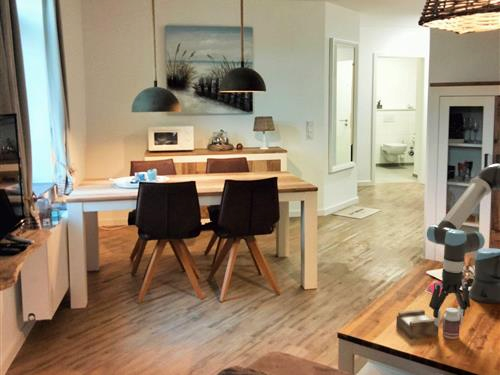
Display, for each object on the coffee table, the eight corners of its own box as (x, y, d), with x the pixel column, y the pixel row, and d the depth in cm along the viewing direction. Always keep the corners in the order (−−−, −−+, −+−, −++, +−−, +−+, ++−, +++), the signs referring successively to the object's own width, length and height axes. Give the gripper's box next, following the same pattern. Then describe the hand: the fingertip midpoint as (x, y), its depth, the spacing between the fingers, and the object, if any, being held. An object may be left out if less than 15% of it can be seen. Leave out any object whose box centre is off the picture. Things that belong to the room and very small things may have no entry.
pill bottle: (462, 338, 212) (463, 312, 210) (448, 340, 211) (449, 313, 209) (453, 331, 218) (454, 306, 216) (439, 333, 217) (440, 307, 215)
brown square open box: (422, 323, 226) (423, 309, 225) (438, 336, 214) (438, 320, 213) (396, 326, 224) (396, 311, 222) (410, 339, 212) (410, 323, 211)
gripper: (472, 265, 215) (467, 319, 219) (422, 267, 211) (418, 322, 215) (483, 271, 208) (478, 326, 212) (432, 274, 204) (427, 330, 207)
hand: (448, 324), depth 213 cm, fingers open, 9 cm apart
